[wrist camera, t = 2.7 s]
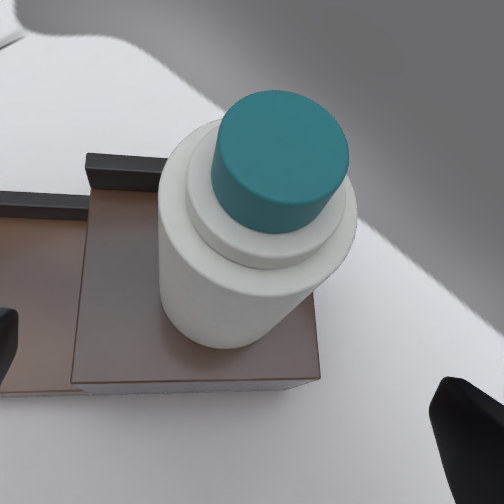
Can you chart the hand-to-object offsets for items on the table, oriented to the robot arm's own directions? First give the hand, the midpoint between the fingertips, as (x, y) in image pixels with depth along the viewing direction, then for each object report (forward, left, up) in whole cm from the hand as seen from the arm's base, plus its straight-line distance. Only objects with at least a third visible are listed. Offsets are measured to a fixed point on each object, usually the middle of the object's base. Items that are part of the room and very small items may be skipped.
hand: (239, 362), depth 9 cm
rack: (+5, +3, -12) cm, 13 cm away
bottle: (+3, -2, -7) cm, 8 cm away
